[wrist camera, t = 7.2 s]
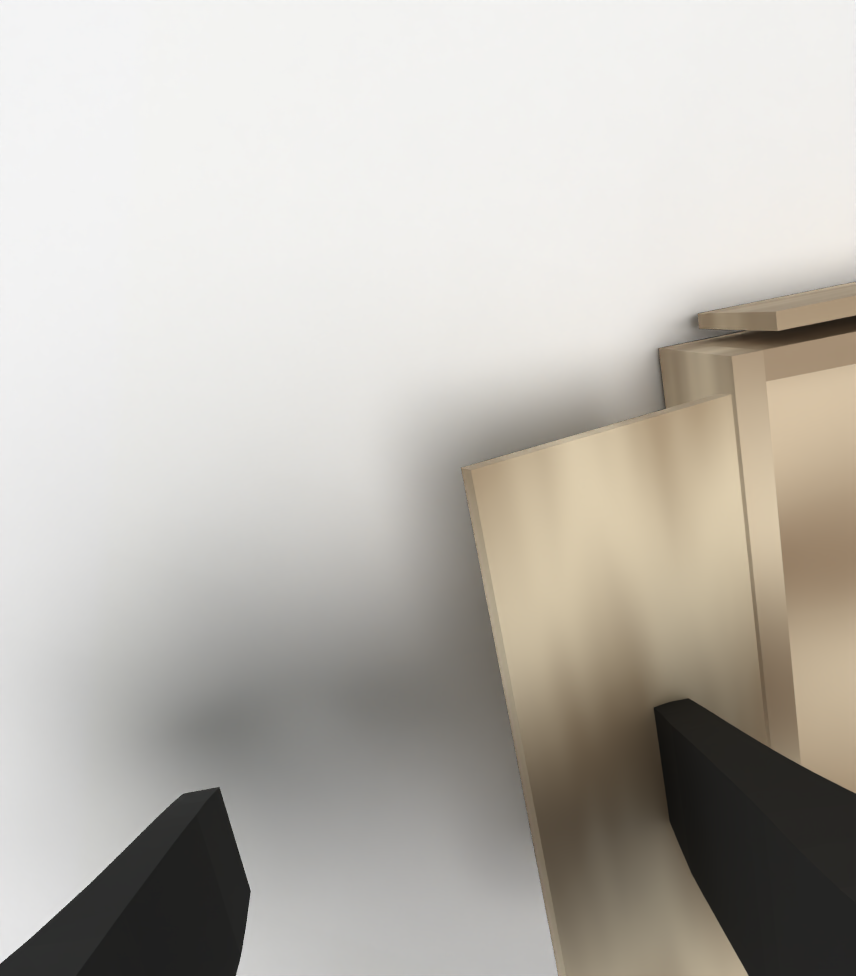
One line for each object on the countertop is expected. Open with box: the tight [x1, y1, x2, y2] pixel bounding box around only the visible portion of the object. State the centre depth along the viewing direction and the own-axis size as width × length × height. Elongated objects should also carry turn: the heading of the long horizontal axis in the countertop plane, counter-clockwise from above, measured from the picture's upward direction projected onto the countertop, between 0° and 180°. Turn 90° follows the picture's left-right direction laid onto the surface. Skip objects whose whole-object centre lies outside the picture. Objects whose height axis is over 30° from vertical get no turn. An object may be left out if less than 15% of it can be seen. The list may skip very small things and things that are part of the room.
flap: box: [461, 394, 767, 976], centre depth 12 cm, size 11×1×4 cm
